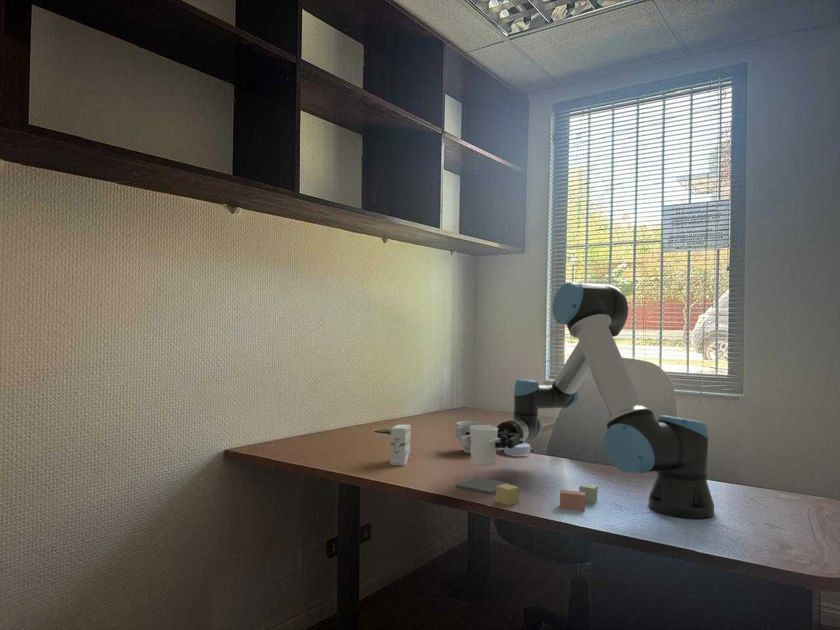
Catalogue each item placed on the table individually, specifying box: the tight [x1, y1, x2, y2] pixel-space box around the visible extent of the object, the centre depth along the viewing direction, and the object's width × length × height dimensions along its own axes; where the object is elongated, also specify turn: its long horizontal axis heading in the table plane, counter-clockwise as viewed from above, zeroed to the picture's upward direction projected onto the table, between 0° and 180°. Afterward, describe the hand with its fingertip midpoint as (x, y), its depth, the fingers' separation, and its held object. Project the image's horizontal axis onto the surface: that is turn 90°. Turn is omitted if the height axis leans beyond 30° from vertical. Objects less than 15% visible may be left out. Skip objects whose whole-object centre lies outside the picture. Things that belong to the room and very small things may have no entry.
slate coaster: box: [455, 476, 510, 495], centre depth 166 cm, size 11×11×1 cm
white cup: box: [469, 424, 498, 467], centre depth 166 cm, size 8×8×10 cm
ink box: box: [389, 424, 412, 467], centre depth 191 cm, size 9×5×12 cm, turn 168°
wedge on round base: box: [503, 441, 531, 456], centre depth 211 cm, size 9×7×13 cm
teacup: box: [454, 420, 491, 454], centre depth 210 cm, size 12×15×10 cm
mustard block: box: [495, 483, 520, 506], centre depth 152 cm, size 4×4×4 cm
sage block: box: [578, 482, 599, 505], centre depth 155 cm, size 4×4×4 cm
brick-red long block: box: [559, 489, 586, 512], centre depth 148 cm, size 6×3×4 cm, turn 75°
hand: (474, 444), depth 162 cm, fingers closed on white cup, 7 cm apart
